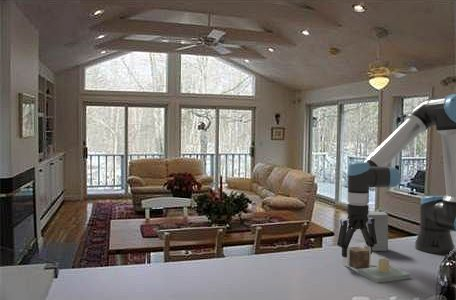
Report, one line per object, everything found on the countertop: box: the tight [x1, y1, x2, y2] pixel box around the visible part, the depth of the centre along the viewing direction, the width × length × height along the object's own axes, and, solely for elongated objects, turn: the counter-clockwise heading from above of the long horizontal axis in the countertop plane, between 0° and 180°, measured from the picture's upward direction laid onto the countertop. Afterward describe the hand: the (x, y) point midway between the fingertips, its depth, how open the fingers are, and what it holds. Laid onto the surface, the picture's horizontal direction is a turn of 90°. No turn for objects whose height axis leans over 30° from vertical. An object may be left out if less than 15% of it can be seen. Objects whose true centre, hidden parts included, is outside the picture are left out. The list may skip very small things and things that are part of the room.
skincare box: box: [364, 211, 389, 252], centre depth 178 cm, size 8×7×16 cm
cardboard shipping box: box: [348, 245, 370, 269], centre depth 156 cm, size 6×6×6 cm
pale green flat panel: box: [356, 258, 412, 284], centre depth 144 cm, size 14×10×6 cm
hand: (356, 264), depth 156 cm, fingers open, 9 cm apart
